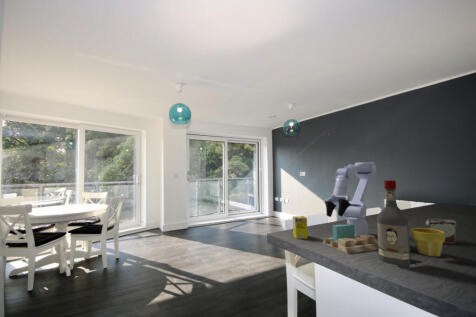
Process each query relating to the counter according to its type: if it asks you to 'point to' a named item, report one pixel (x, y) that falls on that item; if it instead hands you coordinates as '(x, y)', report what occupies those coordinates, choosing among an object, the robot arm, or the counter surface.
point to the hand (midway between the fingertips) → (334, 216)
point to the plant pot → (428, 240)
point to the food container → (443, 228)
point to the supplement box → (300, 227)
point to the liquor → (393, 230)
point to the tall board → (343, 231)
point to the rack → (354, 248)
